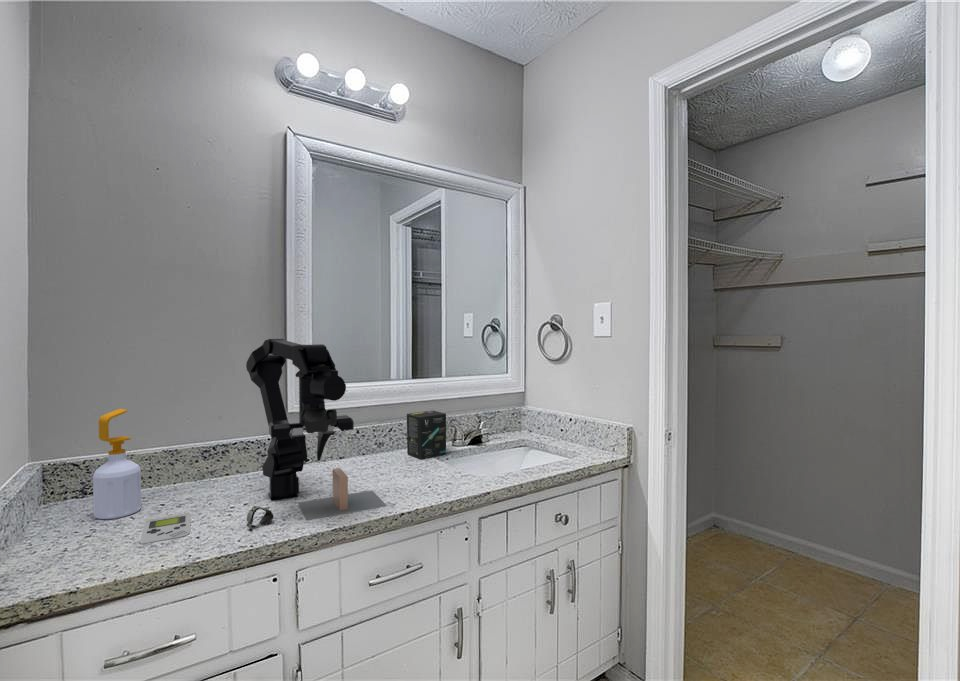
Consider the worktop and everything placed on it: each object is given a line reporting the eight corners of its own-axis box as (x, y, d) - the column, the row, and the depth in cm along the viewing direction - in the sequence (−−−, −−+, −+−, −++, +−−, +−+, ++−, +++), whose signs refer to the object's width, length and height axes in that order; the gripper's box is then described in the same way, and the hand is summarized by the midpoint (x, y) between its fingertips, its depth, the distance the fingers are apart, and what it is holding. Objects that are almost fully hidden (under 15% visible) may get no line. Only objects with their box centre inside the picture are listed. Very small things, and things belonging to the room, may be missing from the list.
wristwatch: (262, 535, 107) (276, 513, 110) (244, 524, 104) (258, 502, 107) (256, 532, 109) (270, 511, 112) (238, 522, 106) (252, 501, 109)
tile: (339, 510, 117) (339, 477, 117) (332, 500, 124) (332, 468, 124) (348, 508, 118) (347, 476, 117) (340, 498, 125) (340, 467, 125)
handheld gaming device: (139, 543, 99) (145, 518, 112) (139, 546, 99) (145, 521, 112) (189, 533, 103) (190, 511, 116) (190, 537, 103) (190, 514, 116)
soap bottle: (148, 510, 118) (147, 409, 117) (104, 522, 110) (102, 414, 110) (130, 503, 123) (128, 406, 122) (86, 515, 115) (84, 411, 114)
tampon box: (432, 449, 178) (431, 409, 177) (447, 454, 171) (447, 413, 170) (406, 454, 171) (405, 413, 170) (420, 460, 164) (420, 416, 163)
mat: (306, 522, 111) (306, 520, 111) (297, 504, 122) (297, 502, 122) (387, 507, 120) (387, 505, 120) (372, 491, 131) (372, 490, 131)
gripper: (273, 403, 105) (274, 475, 106) (359, 398, 114) (359, 464, 115) (268, 397, 115) (269, 463, 116) (347, 392, 124) (348, 453, 124)
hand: (312, 461), depth 117 cm, fingers open, 3 cm apart
